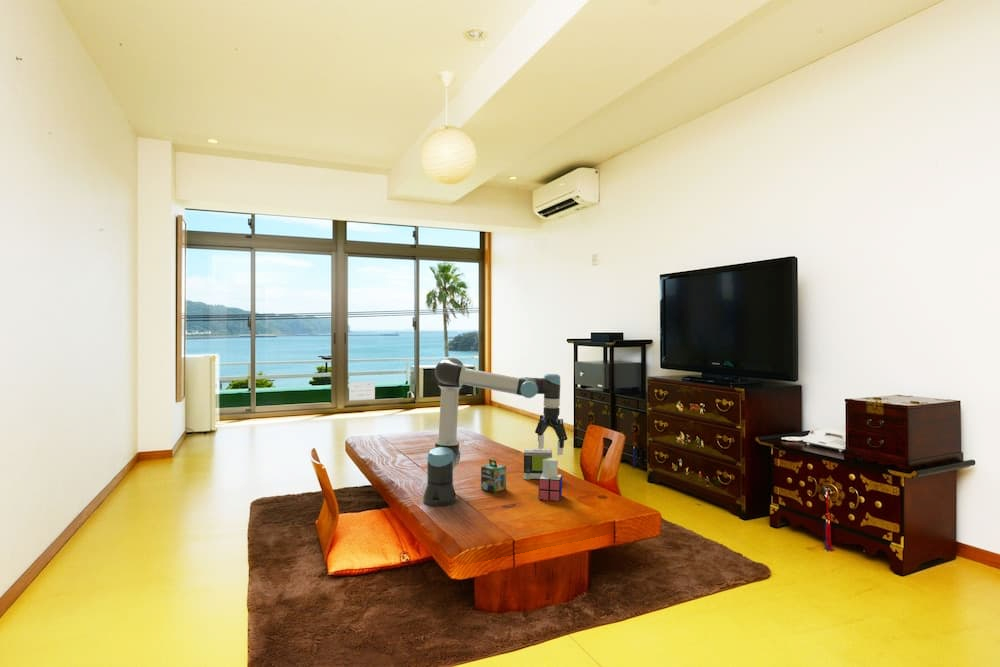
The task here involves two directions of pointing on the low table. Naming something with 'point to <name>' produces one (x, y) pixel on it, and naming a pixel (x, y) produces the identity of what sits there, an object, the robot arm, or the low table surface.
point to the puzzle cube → (550, 488)
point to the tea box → (535, 462)
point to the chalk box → (493, 477)
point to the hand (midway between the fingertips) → (550, 451)
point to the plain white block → (550, 468)
